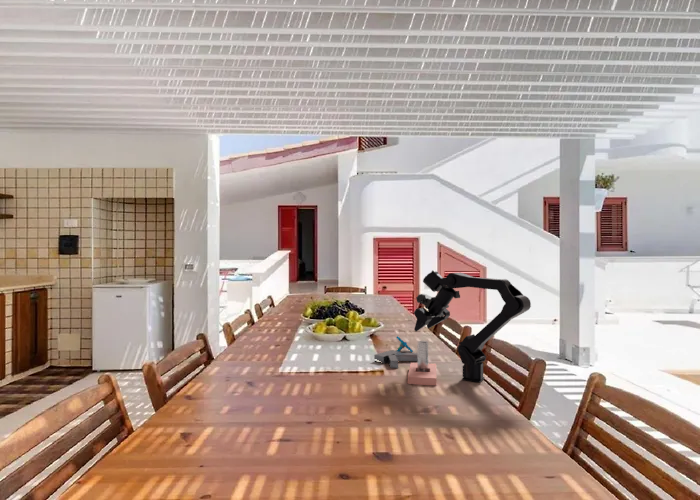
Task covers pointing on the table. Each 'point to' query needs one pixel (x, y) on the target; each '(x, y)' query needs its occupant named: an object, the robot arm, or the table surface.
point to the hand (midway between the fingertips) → (421, 329)
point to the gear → (403, 345)
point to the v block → (395, 357)
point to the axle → (422, 356)
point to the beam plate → (422, 375)
